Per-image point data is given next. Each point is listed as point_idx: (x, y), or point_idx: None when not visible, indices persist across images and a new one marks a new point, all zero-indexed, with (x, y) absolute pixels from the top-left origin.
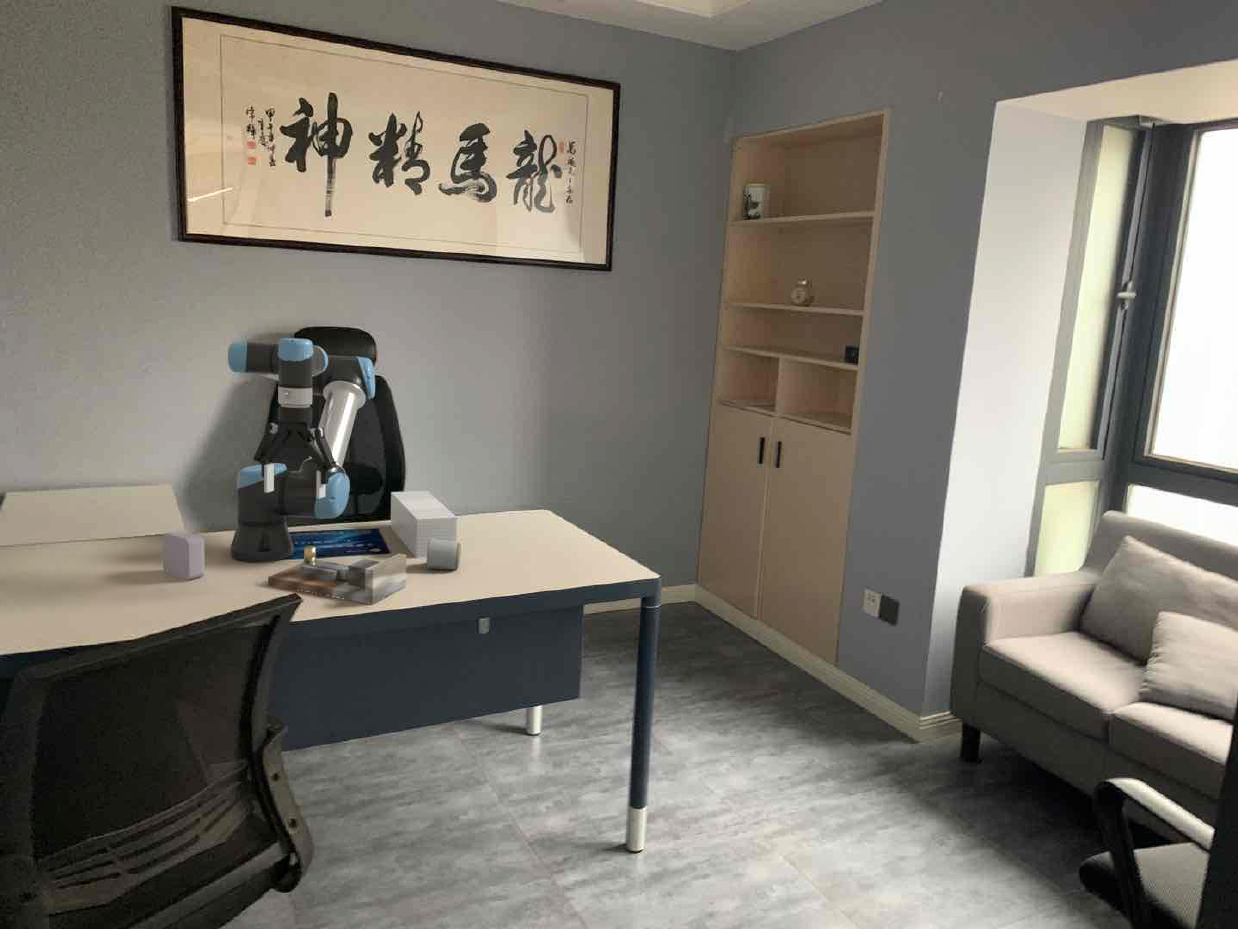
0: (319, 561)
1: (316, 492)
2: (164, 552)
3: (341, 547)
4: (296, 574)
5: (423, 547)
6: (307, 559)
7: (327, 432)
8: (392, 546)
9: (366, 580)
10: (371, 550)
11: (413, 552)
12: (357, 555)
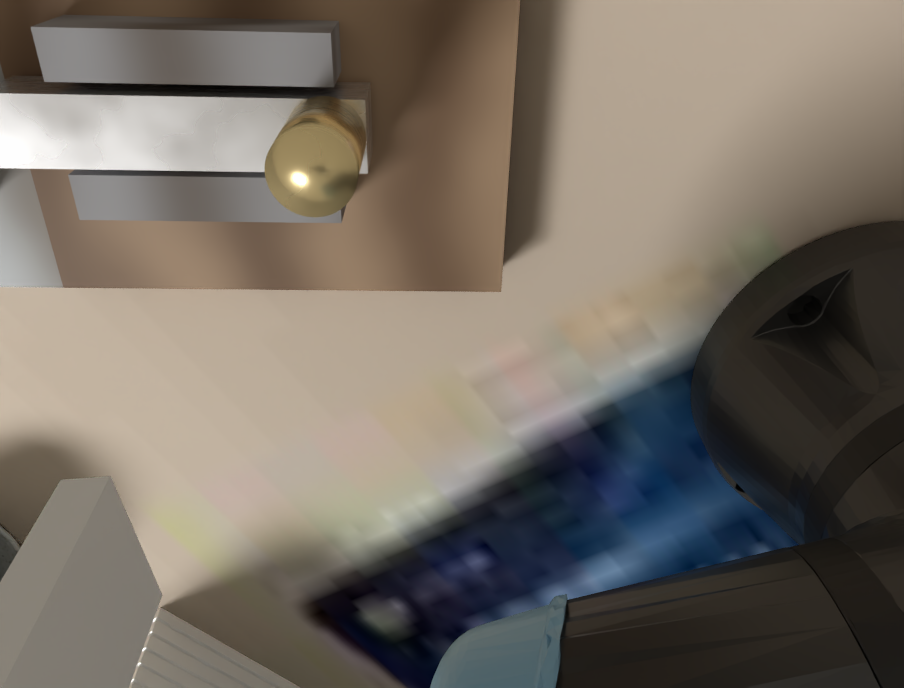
0: None
1: (70, 547)
2: None
3: (540, 586)
4: (386, 40)
5: None
6: (312, 105)
7: None
8: (355, 670)
9: None
10: (397, 605)
11: (204, 641)
12: (406, 535)
